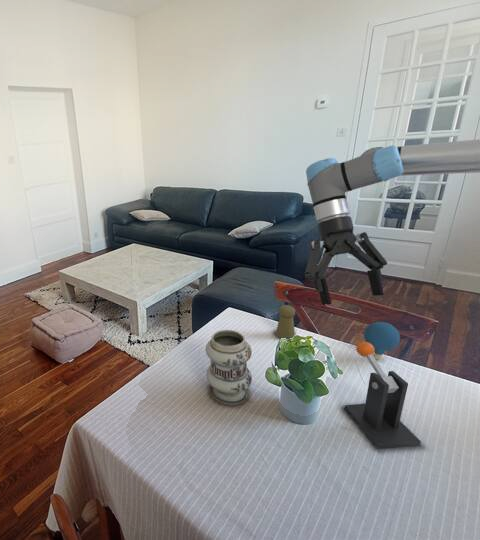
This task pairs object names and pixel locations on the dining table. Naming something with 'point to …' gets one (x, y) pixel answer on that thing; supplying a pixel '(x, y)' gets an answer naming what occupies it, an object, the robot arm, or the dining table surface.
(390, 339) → the light bulb
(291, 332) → the cork
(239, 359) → the apothecary jar
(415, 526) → the dining table surface
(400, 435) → the switch bracket
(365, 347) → the switch lever
